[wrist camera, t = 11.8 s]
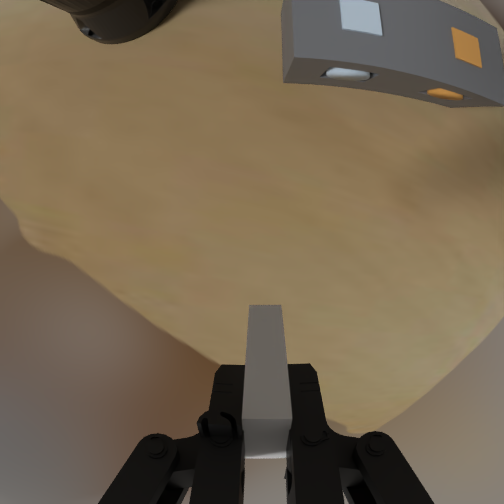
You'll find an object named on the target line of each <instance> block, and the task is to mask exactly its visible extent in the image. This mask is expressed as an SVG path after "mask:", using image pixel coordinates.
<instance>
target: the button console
mask: <svg viewBox="0 0 504 504" xmlns="http://www.w3.org/2000/svg"><path fill="white" fill-rule="evenodd" d="M281 26H282V56H283V83H298V84H315V85H328V86H338V87H347V88H356V89H363V90H370V91H377V92H383V93H389V94H394V95H399V96H404V97H409V98H414V99H418V100H423V101H427V102H431V103H435V104H439V105H443V106H446V107H450V108H454V107H480V106H504V68H503V61H502V54H501V48H500V42H499V37H498V32H497V28H495V27H494V26H492V25H490V24H488V23H486V22H485V21H483V20H481V19H479V18H477V17H475V16H473V15H471V14H469V13H467V12H465V11H462V10H460V9H458V8H456V7H454V6H451V5H449V4H447V3H444V2H442V1H439V0H283V5H282V11H281ZM329 67H334V68H343V69H351V70H358V71H365V72H370V78H369V79H368V80H361V81H349V80H339V79H334V78H330V77H328V76H327V75H326V70H327V69H328V68H329ZM437 88H442V89H445V90H448V91H451V92H455V93H458V94H461V95H463V99H462V100H447V99H441V98H436V97H433V96H430V95H428V94H427V90H431V89H437Z"/></svg>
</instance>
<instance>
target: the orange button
mask: <svg viewBox="0 0 504 504" xmlns="http://www.w3.org/2000/svg"><path fill="white" fill-rule="evenodd" d="M427 94H428V95H430V96H433V97H436V98H441V99H447V100H462V99H463V95H461V94H458V93H455V92H451V91H448V90H445V89H442V88H437V89H431V90H427Z"/></svg>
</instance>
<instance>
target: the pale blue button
mask: <svg viewBox="0 0 504 504" xmlns="http://www.w3.org/2000/svg"><path fill="white" fill-rule="evenodd" d="M326 75H327V76H328V77H330V78H334V79H339V80H349V81H361V80H368V79H369V78H370V72H365V71H358V70H351V69H343V68H334V67H329V68H328V69H327V70H326Z"/></svg>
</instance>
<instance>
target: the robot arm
mask: <svg viewBox="0 0 504 504" xmlns="http://www.w3.org/2000/svg"><path fill="white" fill-rule="evenodd" d="M40 1H43V2H45V3H48V4H50V5H52V6H55V7H57V8H59V9H62V10H64V11H66V12H68V13H70V15H71V16H72V18H73V20H74V21H75V23H76V25H77V26H78V28H79V29H80V31H81V32H82V33H83V34H84V35H85V36H87V37H89V38H90V39H93V40H95V41H97V42H100V43H104V44H118V43H123V42H127V41H130V40H133V39H135V38H138V37H140V36H142V35H143V34H145V33H147V32H148V31H150V30H151V29H153V28H154V27H155V26H157V25H158V24H159V23H160V22H161V21H162V20H163V19H164V18H165V17H166V16H167V15H168V14H169V13H170V11H171V10H172V9H173V7H174V5H175V4H176V2H177V0H40ZM197 426H198V430H199V433H198V434H196V435H194V436H192V437H188V438H182V439H176V440H173V439H172V438H170V437H168V436H167V435H164V434H159V433H157V434H150V435H148V436H146V437H144V438H143V439H142V440H141V441H140V442H139V443H138V444H137V446H136V448H135V449H134V451H133V452H132V454H131V455H130V457H129V458H128V460H127V461H126V463H125V464H124V466H123V467H122V469H121V470H120V472H119V473H118V475H117V476H116V478H115V479H114V481H113V482H112V484H111V485H110V486H109V488H108V489H107V491H106V492H105V494H104V495H103V497H102V498H101V500H100V501H99V503H98V504H181V503H182V501H183V499H184V497H185V495H186V493H187V491H188V489H189V487H192V490H191V496H190V502H189V504H243V500H244V499H243V498H244V479H245V468H244V465H245V458H286V459H287V467H286V473H285V477H284V478H285V479H286V488H287V489H286V490H287V504H344V497H343V492H344V494H345V496H346V498H347V500H348V502H349V504H434V502H433V501H432V499H431V498H430V496H429V495H428V493H427V491H426V490H425V488H424V487H423V485H422V484H421V482H420V481H419V479H418V477H417V476H416V474H415V473H414V471H413V470H412V468H411V467H410V465H409V464H408V462H407V461H406V459H405V457H404V456H403V455H402V453H401V451H400V450H399V448H398V447H397V445H396V444H395V442H394V441H393V439H392V438H391V437H390V436H389V435H387V434H385V433H383V432H376V431H373V432H368V433H366V434H364V435H363V436H361V437H360V438H356V437H349V436H343V435H340V434H338V433H336V432H334V431H333V430H332V429H331V428H330V427H329V426H328V425H327V422H326V418H325V413H324V407H323V402H322V397H321V392H320V386H319V381H318V376H317V372H316V371H315V369H314V368H313V367H312V366H311V364H310V363H309V364H287V356H286V346H285V336H284V327H283V317H282V308H281V305H249V317H248V332H247V348H246V363H245V365H221V366H220V368H219V369H218V370H217V371H216V373H215V377H214V383H213V389H212V394H211V400H210V406H209V411H207V412H205V413H204V414H203V415H201V416H200V417H199V419H198V421H197ZM342 490H343V491H342Z"/></svg>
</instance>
